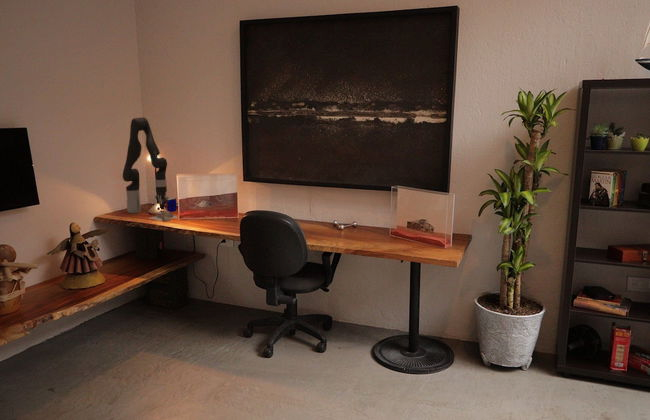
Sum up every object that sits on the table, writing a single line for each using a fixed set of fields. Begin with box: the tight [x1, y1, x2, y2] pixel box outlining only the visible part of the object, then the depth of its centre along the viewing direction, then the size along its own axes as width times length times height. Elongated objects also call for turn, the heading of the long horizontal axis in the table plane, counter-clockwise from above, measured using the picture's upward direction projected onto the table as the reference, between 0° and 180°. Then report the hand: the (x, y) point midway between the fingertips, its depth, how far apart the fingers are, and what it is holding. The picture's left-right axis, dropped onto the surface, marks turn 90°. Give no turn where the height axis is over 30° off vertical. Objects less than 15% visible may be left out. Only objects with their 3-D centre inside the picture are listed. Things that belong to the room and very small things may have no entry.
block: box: [160, 211, 171, 222], centre depth 367 cm, size 4×4×7 cm
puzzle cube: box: [159, 197, 178, 213], centre depth 400 cm, size 10×10×10 cm
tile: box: [156, 213, 174, 218], centre depth 379 cm, size 2×8×9 cm
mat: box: [148, 215, 178, 222], centre depth 378 cm, size 16×16×1 cm
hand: (162, 209), depth 379 cm, fingers closed
